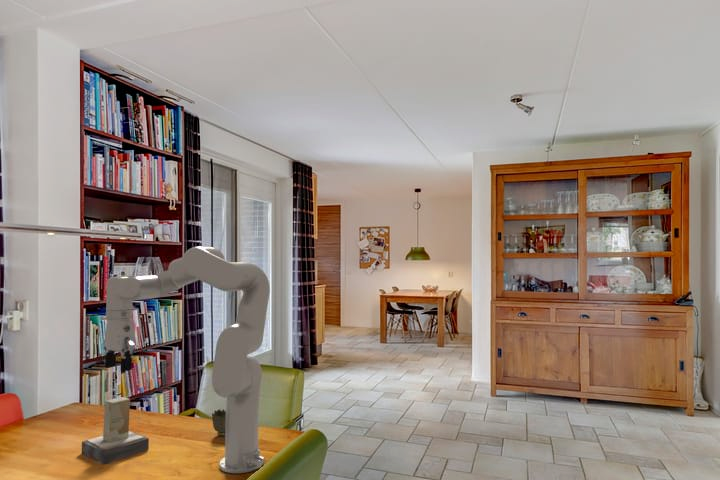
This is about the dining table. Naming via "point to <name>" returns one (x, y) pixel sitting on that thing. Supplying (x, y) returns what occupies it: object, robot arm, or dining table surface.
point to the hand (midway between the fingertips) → (118, 368)
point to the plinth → (114, 447)
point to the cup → (219, 422)
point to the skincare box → (116, 419)
